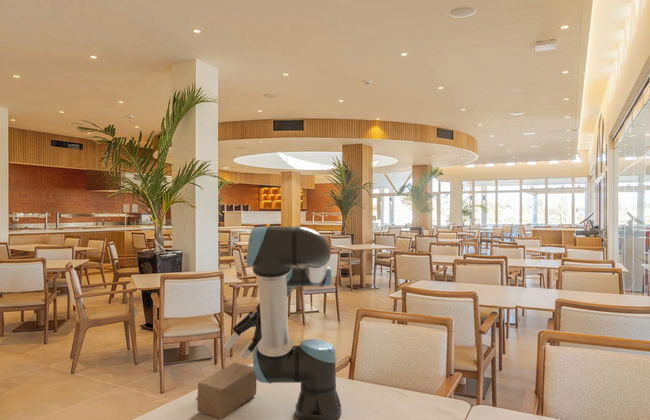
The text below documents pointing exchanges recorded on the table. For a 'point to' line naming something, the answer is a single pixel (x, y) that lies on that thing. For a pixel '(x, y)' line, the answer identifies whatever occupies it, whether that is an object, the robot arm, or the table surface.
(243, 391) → the wooden block
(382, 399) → the table surface
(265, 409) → the table surface
